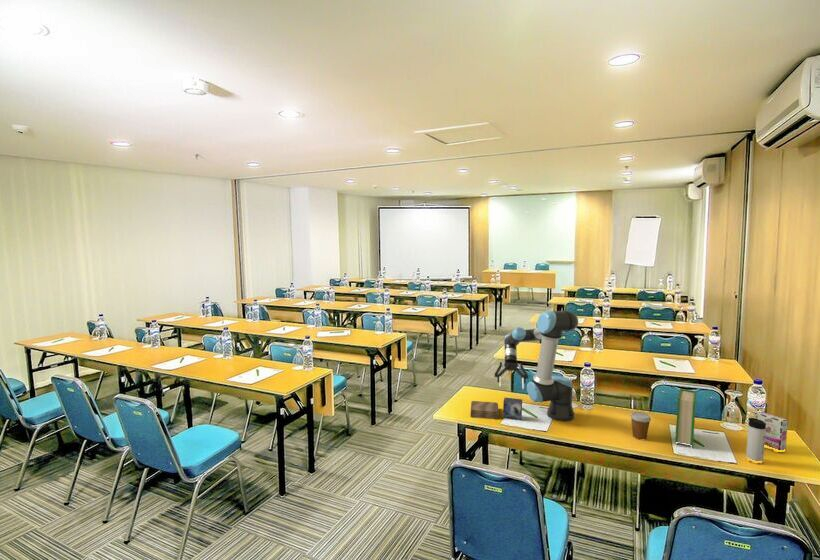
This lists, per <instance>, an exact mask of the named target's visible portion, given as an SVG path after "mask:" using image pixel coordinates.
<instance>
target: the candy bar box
mask: <svg viewBox="0 0 820 560" xmlns="http://www.w3.org/2000/svg"><path fill="white" fill-rule="evenodd" d="M756 419H759V420H761V421H764V422H765V423H766V433H765V445H767V446H769V447H772V448H775V449H778V450H784V449H787V434H788V424H789V420H788V419H786V418H783V417H780V416H776V415H774V414H771V413H767V412H764V411H761V412H757V413H756Z"/></svg>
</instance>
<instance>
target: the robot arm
mask: <svg viewBox="0 0 820 560" xmlns="http://www.w3.org/2000/svg"><path fill="white" fill-rule="evenodd" d="M536 326H537V327H535V328H532V329H531V328H530V329H524V328H523V327H521V326H518V327H516V328H515V329H513V330H512V332H511V333H508V334H506V335H505V336H504V340H503V342H504V345H503V346H504V363H503V362H502V361H500V362H499V365H498V367H497V369H496V371H495V373H494V374H493V375H494V376H493V377H494V378H497V380H496V381H497V383H499V387H498V389H501V386H502V381H501V380H502V375H504V373H506V372H507V371H509V372H516V373H517V374H518V376H520V378H521V387H522V390H524V389H525V385H526V382H527V380H528V379H529V374H528V373H527V371H526V370H525V368H524V366H523V363H522V362H521V363H518V355H517V354H518V352H517V346H518V345H519V344H520V343H525V342H540V341H541V343H540V349H539V354H538V362H537V368H536V373H535V375H533V376H532V381H529V382H528V383H527V385H526V391H527V394H528V397H529V399H530V400H531V401H532V402H534V403H544V402H545V403H546V402H550V403H549V405H548V407H547V410H546V415H547V417H548V418H550V419H552V420H555V421H558V422H559V421H560V422H571V421H573V420H575V411H574V408H573V402H572V401H573V381H572V379H570V378H568V377H565V376H561V375H553V372H554V367H555V361H556V354H557V348H558V343H559V340H560V339H562V338H563V333H568V332H573V331H575V329H577V328H578V326H579V317H578V315H577V314H575V313H574V312H572V311H570V310H553V311H552V310H548V311H544V312H542V313H540V314H539V316H538V317H537V320H536ZM503 367H504V368H503ZM518 367H519V368H520V369H519V368H518ZM502 368H503V369H502Z"/></svg>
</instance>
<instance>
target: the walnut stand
mask: <svg viewBox="0 0 820 560" xmlns="http://www.w3.org/2000/svg"><path fill="white" fill-rule="evenodd" d="M470 404H471V405H470V418H479V419H494V420H500V418H499V417H500V415H499V414H500V413H499V412H500V411H499V410H500V409H499V404H498V402H497V401H496V402H493V401H479V400H471V403H470Z"/></svg>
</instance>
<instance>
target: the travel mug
mask: <svg viewBox="0 0 820 560" xmlns="http://www.w3.org/2000/svg"><path fill="white" fill-rule="evenodd" d="M747 420H748V425H747V426H748V427H747V441H746V452H745V457H746V456H747V457H748V458H750V459H752V460H755V461H763V462H764V458H765V455H764V454H765V448H764V445H765V433H766V423H765V422H764V421H761V420H759V419H757V418H754V417H749V418H748V417H747Z"/></svg>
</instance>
